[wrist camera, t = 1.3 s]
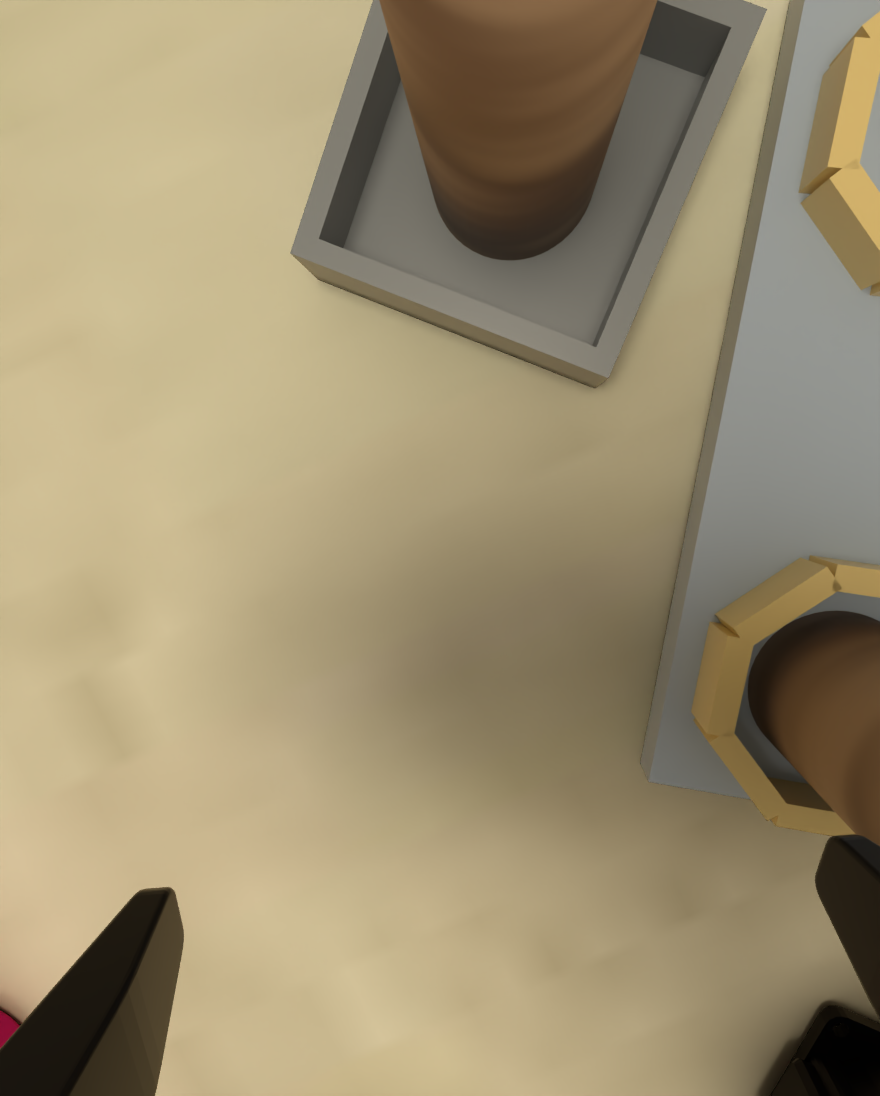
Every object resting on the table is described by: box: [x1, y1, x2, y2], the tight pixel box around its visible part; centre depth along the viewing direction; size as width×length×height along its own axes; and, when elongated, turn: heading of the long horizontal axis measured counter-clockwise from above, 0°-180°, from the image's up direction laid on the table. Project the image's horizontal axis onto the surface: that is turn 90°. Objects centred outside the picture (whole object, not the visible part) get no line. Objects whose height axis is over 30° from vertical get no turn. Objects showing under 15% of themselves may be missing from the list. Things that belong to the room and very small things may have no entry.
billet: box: [379, 0, 657, 260], centre depth 12 cm, size 5×5×11 cm
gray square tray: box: [291, 0, 767, 388], centre depth 17 cm, size 9×9×2 cm
